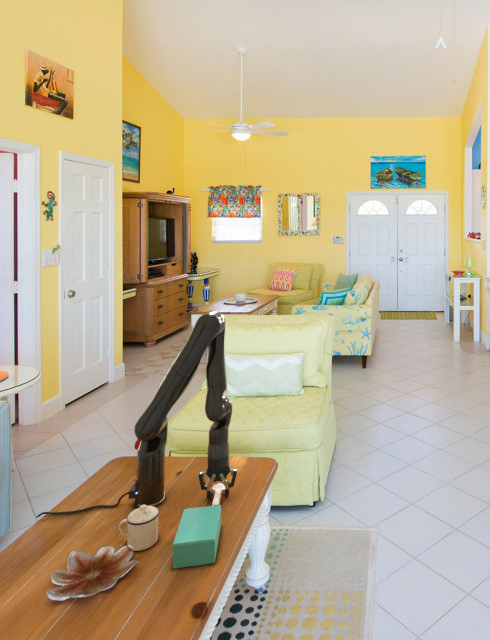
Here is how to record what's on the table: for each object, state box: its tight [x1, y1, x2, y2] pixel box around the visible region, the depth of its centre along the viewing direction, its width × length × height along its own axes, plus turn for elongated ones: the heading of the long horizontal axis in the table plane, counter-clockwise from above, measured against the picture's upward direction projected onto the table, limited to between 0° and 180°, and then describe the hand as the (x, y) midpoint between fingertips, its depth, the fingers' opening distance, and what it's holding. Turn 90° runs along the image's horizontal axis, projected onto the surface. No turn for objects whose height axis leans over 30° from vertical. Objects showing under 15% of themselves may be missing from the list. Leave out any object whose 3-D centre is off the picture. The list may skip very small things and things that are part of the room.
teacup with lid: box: [118, 505, 160, 552], centre depth 147 cm, size 12×9×12 cm
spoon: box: [211, 482, 225, 506], centre depth 172 cm, size 17×5×3 cm, turn 13°
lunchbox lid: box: [172, 504, 222, 548], centre depth 145 cm, size 18×12×1 cm, turn 13°
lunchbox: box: [172, 509, 222, 569], centre depth 146 cm, size 18×12×7 cm, turn 13°
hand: (217, 498), depth 172 cm, fingers open, 5 cm apart
